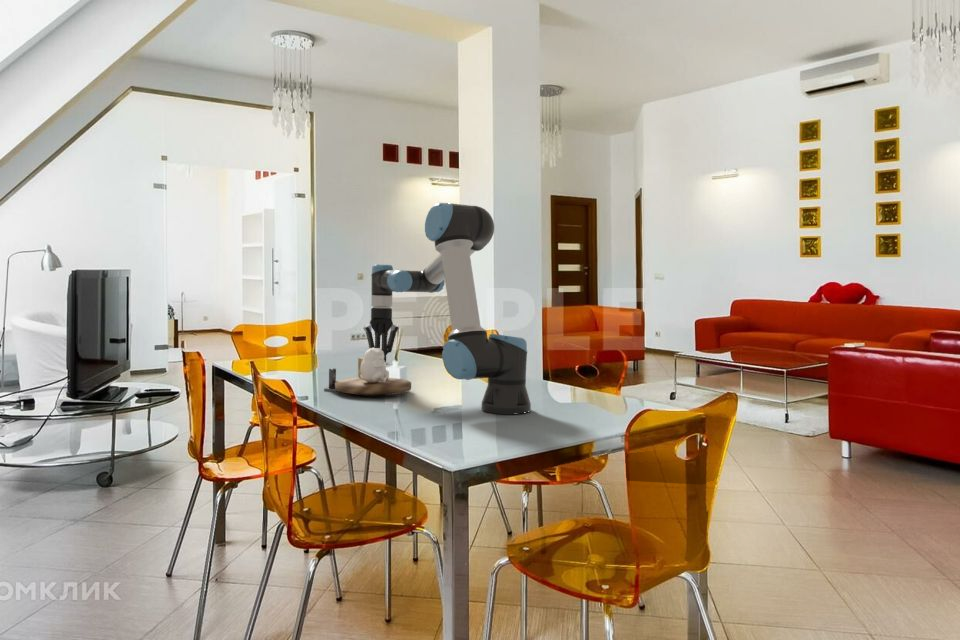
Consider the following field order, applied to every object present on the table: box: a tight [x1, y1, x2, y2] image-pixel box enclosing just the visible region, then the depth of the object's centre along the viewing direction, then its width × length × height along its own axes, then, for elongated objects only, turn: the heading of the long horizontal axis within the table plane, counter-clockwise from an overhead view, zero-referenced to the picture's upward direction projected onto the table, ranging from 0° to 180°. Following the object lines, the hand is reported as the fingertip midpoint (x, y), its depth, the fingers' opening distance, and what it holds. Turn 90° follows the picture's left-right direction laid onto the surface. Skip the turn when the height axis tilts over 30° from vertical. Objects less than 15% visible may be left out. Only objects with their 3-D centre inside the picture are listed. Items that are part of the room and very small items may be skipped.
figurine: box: [360, 347, 390, 383], centre depth 236 cm, size 10×10×12 cm
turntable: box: [335, 356, 412, 395], centre depth 236 cm, size 26×27×9 cm
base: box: [323, 368, 389, 397], centre depth 237 cm, size 24×14×8 cm, turn 85°
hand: (380, 372), depth 248 cm, fingers closed
